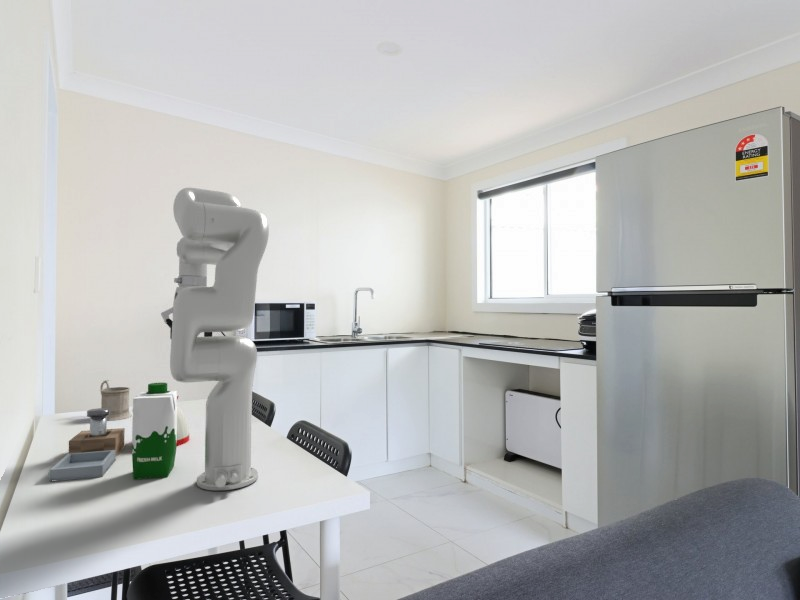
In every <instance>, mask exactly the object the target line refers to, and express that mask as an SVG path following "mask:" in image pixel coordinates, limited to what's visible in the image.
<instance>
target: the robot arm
mask: <svg viewBox="0 0 800 600" xmlns="http://www.w3.org/2000/svg"><path fill="white" fill-rule="evenodd" d="M172 209H173V219H174V220H175V223H176V225H177V228H178V229H179V231H180V234H181V236H182V238H180V239H179V241H178V242H177V243H176V256H177V257H178V262H179V264H178V277H177V278H176V277H175V278H174V279H173V282H174V283H177V286H176V289H175V292H174V297H173V304H172V305H173V306H172V307H170V308H168V309H166V310H164V311H162V312H161V313H160V315H161V317H162V319H163V322H164V323H165V324H166V325H167V326H168V327H169V329H170V330H169V331H170V332H169V334H170V341H171V342H170V353H169V358H170V359H169V367H170V374H171V376H172V379H174V380H175V381H176V382H179V383H185V384H188V383H203V382H216V385H214V387H213V388H212V390H211V391H210V392H209V395H208V396H207V399H206V401H205V428H204V429H205V430H204V431H205V433H204V434H205V435H204V436H205V437H204V439H205V440H204V447H205V448H204V472H202V473H200V474H199V475H198V476H197V477H196V485H197V487H199V488H200V489H203V490H207V491H217V492H218V491H232V490H237V489H239V488H240V489H241V488H244V487H247V486H250V485H251V484H254V482H256V481H257V480H258V478H259V471H258V470H257V469H255V468H254V467H252V421H253V419H252V418H253V417H252V414H253V412H252V411H253V409H252V408H253V406H252V405H253V386H254V377H255V373H256V372H255V371H256V366H257V359H258V350H257V346H256V344H255V343H254V341H253V340H251V339H250V338H248V337H245V336H239V335H219V336H218V335H214V336H213V333H221V332H223V333H225V332H226V333H227V332H228V333H229V332H239V331H244V330H247V329H249V328H250V326H252V325H251V324H252V322H253V319H254V311H255V303H256V292H257V281H258V272H259V267H260V264H261V261H262V258H263V256H264V254H265V251H266V249H267V245H268V240H269V235H270V234H269V232H270V231H269V229H270V228H269V222H268V219H267V217H266V215H264V214H263V213H262V212H260V211H258V210H256V209H252V208H247V207H242V205H241V203H240V201H239V200H238V199H237V197H235V196H234V195H232V194H230V193H227V192H223V191H217V190H211V189H205V188H204V189H202V188H196V187H185V188H182V189H180V190H179V191H178V192H177V193H176V195H175V198H174V201H173V208H172ZM208 265H212V266H213V265H214V266H215V268H214V269H215V271H214V282H213V285H212V286H207V283H208V282H207V281H208V279H207V278H208V277H207V276H208ZM171 314H172V319H170V315H171ZM201 333H203V336H199V335H200V334H201Z"/></svg>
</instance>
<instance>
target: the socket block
mask: <svg viewBox="0 0 800 600" xmlns="http://www.w3.org/2000/svg"><path fill="white" fill-rule="evenodd" d="M125 430H126V429H125V428H124V427H122V428H121V427H120V428H108V429H107V428H106V436H100V437H90V429H89V430H81V431H80V432H78V433H77V434H76V435H74V436H73V437H72V438H71V439H70V440H68V454H70V453H83V452H95V451H108V450H116V457H118V455H119V454H120V453H121V451H122V450H123V449H124V447H125Z"/></svg>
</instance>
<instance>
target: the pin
mask: <svg viewBox="0 0 800 600" xmlns="http://www.w3.org/2000/svg"><path fill="white" fill-rule="evenodd" d="M109 414H110V409H109V408H101V407H100V408H92V409H89V410H86V416H87V417H88V418H89V430H90V437H100V436H106V429H107V427H108V426H107V425H108V424H107V422H108V421H107V415H109Z"/></svg>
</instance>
